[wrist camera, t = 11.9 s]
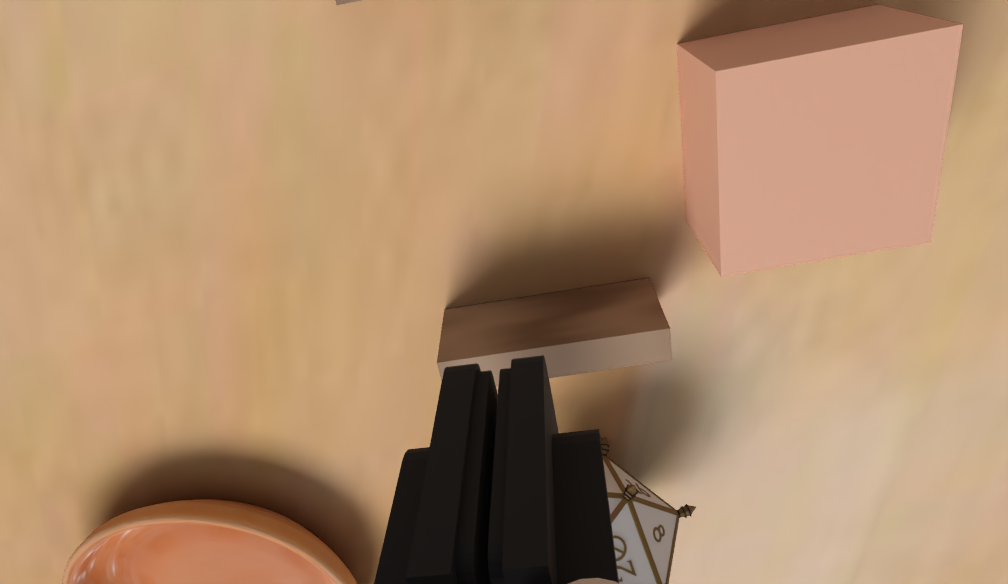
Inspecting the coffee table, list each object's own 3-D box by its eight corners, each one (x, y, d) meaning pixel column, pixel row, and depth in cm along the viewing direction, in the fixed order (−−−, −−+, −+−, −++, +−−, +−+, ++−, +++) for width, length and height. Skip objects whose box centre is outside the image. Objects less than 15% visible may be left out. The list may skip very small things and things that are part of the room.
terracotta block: (875, 4, 23) (963, 24, 19) (859, 189, 26) (930, 242, 22) (675, 43, 24) (715, 71, 19) (685, 219, 27) (721, 276, 23)
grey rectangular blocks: (619, -113, 21) (642, -119, 18) (651, 307, 29) (671, 360, 25) (349, -57, 22) (320, -53, 18) (451, 337, 30) (445, 393, 26)
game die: (546, 422, 37) (458, 471, 28) (701, 428, 33) (657, 487, 24) (555, 580, 37) (471, 680, 28) (712, 603, 33) (672, 727, 24)
